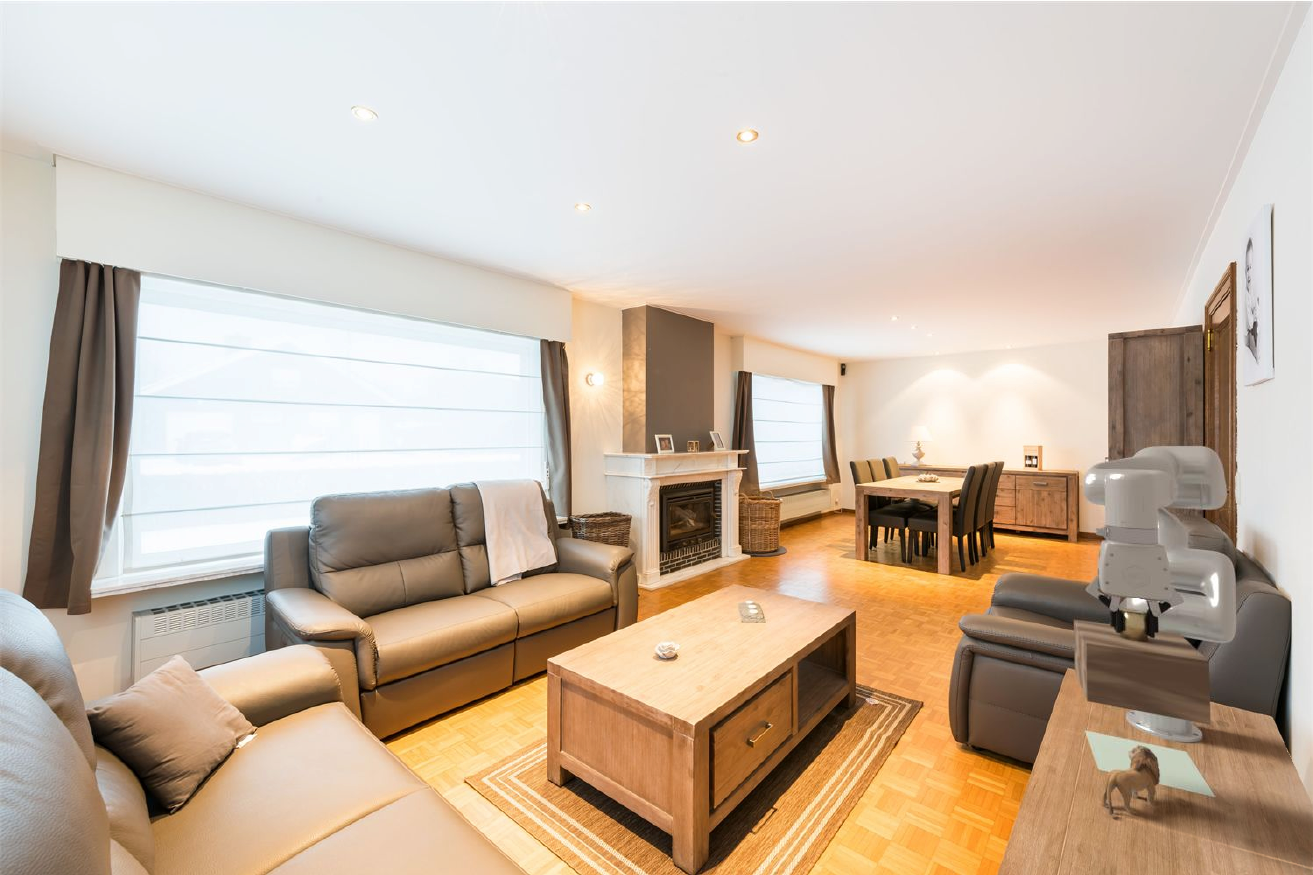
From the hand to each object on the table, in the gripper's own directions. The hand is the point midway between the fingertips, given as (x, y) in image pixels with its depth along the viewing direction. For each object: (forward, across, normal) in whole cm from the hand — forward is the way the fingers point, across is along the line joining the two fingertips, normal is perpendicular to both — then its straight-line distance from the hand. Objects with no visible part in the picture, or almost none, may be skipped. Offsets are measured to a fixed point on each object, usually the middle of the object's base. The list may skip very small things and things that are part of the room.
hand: (1133, 632), depth 101 cm
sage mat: (+30, +3, +13) cm, 33 cm away
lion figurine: (+30, -2, -4) cm, 31 cm away
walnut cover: (+12, 0, 0) cm, 12 cm away
